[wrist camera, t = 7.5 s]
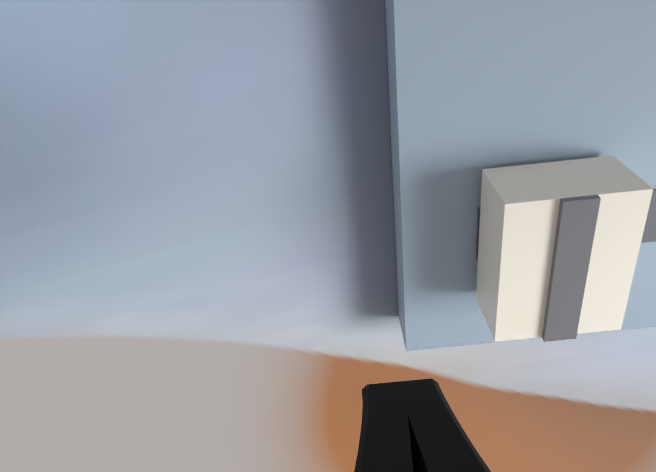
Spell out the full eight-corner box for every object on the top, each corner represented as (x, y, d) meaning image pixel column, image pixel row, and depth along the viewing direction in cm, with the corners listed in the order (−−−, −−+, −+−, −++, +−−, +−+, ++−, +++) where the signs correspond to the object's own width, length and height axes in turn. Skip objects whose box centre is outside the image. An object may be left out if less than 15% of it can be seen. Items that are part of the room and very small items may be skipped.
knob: (613, 155, 17) (657, 192, 15) (589, 286, 19) (624, 333, 17) (482, 169, 17) (507, 207, 15) (475, 297, 20) (496, 346, 17)
